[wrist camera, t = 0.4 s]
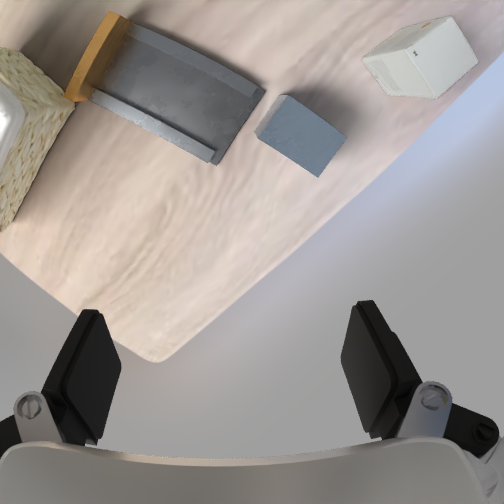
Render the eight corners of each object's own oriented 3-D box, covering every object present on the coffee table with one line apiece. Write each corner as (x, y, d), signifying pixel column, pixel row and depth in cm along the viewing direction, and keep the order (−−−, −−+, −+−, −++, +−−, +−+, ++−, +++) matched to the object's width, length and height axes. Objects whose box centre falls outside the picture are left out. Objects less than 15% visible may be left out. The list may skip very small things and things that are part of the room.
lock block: (279, 94, 31) (287, 94, 26) (329, 130, 33) (347, 137, 28) (254, 131, 33) (257, 138, 28) (305, 164, 35) (317, 177, 30)
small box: (386, 96, 31) (436, 101, 22) (358, 58, 29) (402, 49, 20) (427, 63, 29) (481, 63, 19) (401, 27, 26) (452, 14, 17)
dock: (124, 20, 25) (108, 11, 21) (265, 91, 31) (270, 90, 26) (83, 95, 29) (62, 97, 25) (216, 165, 34) (213, 176, 30)
